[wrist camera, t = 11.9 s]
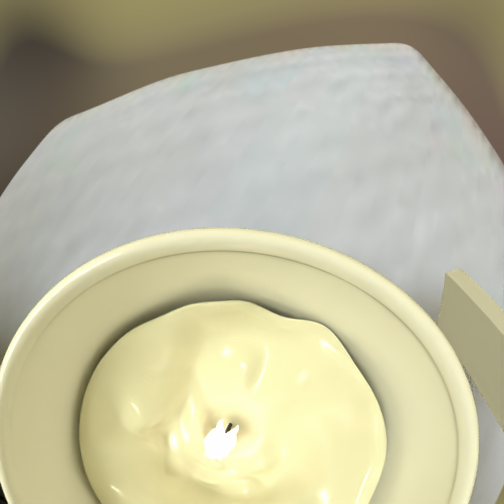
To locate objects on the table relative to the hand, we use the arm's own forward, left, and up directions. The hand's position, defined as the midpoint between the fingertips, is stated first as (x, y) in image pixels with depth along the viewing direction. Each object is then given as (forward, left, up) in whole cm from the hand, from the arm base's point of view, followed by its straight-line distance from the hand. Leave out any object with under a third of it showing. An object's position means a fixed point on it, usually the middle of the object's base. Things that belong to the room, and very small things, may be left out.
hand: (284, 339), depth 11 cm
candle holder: (+1, -4, -5) cm, 7 cm away
